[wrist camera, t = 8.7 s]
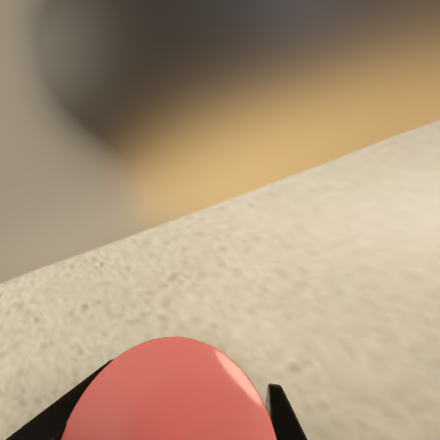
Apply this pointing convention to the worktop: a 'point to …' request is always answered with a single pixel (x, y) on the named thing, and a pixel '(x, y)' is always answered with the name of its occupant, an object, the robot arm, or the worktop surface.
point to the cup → (170, 397)
